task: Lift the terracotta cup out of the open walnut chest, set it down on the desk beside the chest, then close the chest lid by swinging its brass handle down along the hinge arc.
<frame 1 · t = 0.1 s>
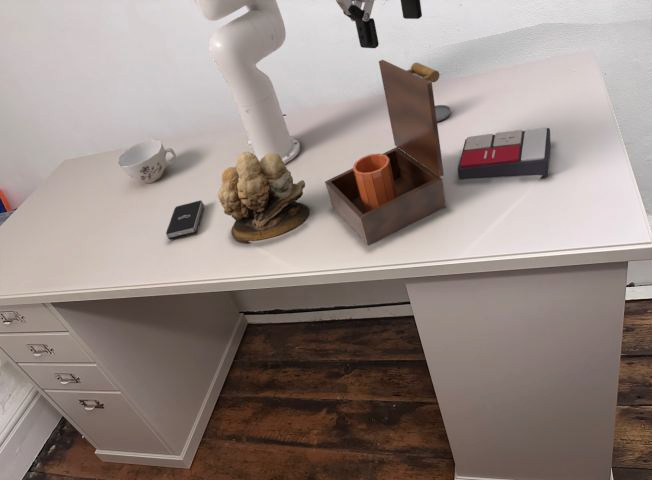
hand: (391, 32, 78), 31 cm above the table, tool pointing down, fingers open, 9 cm apart
lid: (421, 112, 90), point 16 cm above the table, hinge at 90.0°
chest: (386, 210, 99), on the table
teacup: (157, 177, 142), on the table
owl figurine: (273, 224, 108), on the table
external hard drive: (188, 224, 119), on the table
pocket watch: (431, 119, 119), on the table
calculator: (504, 164, 99), on the table
cup: (381, 209, 99), point 1 cm above the table, touching chest
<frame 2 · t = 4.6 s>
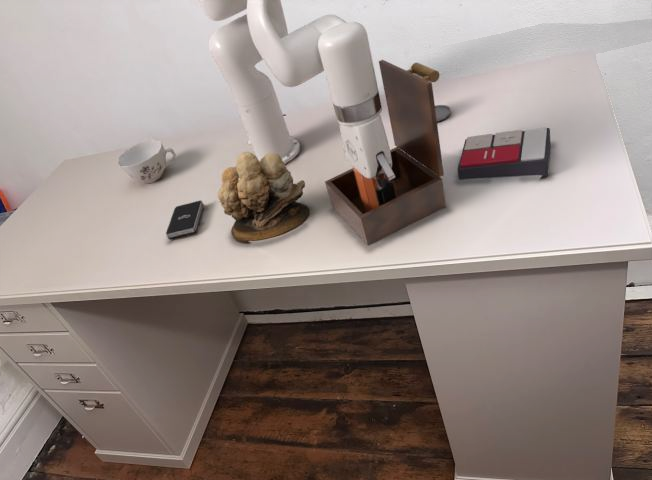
hand: (378, 195, 97), 4 cm above the table, tool pointing down, fingers closed on cup, 6 cm apart
cup: (381, 209, 99), point 1 cm above the table, touching chest, gripper
everything else where it was.
when the fingers open (3 cm above the table, at t = 12.0 s): cup stays where it is, on the table.
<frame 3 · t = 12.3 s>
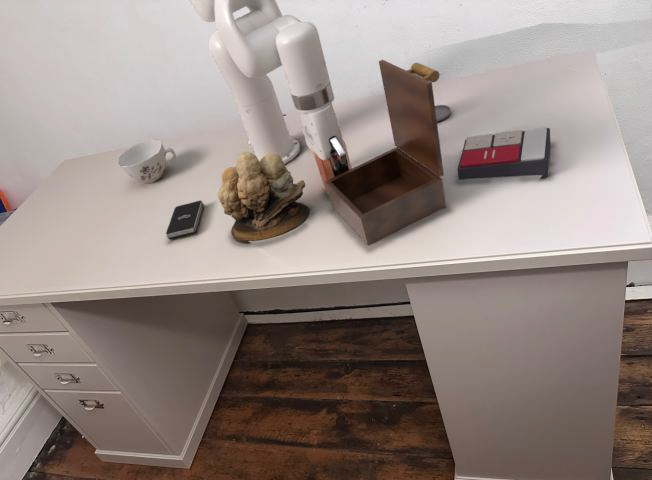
hand: (334, 173, 108), 3 cm above the table, tool pointing down, fingers open, 9 cm apart
cup: (340, 188, 110), on the table
everything else where it was.
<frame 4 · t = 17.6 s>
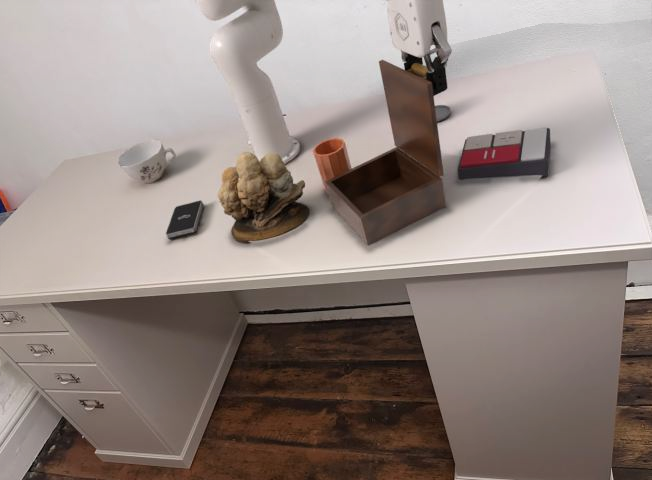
hand: (426, 86, 88), 20 cm above the table, tool pointing down, fingers closed on lid, 6 cm apart
lid: (421, 112, 90), point 16 cm above the table, hinge at 90.0°, touching gripper
everything else where it was.
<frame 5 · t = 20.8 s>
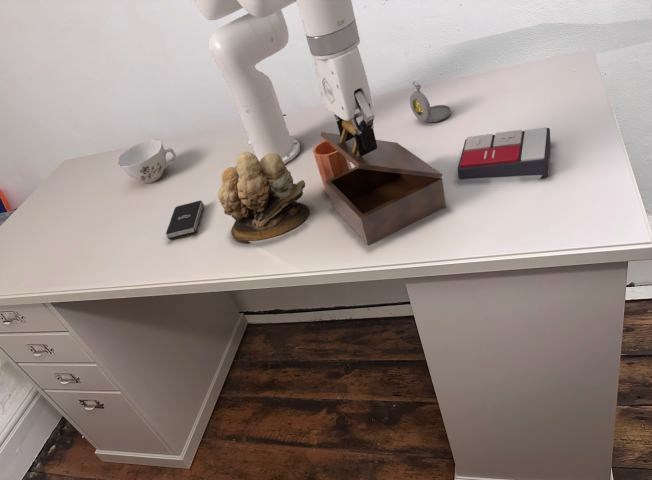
hand: (358, 144, 89), 15 cm above the table, tool pointing down, fingers closed on lid, 6 cm apart
lid: (383, 142, 91), point 14 cm above the table, hinge at 32.8°, touching gripper
everything else where it was.
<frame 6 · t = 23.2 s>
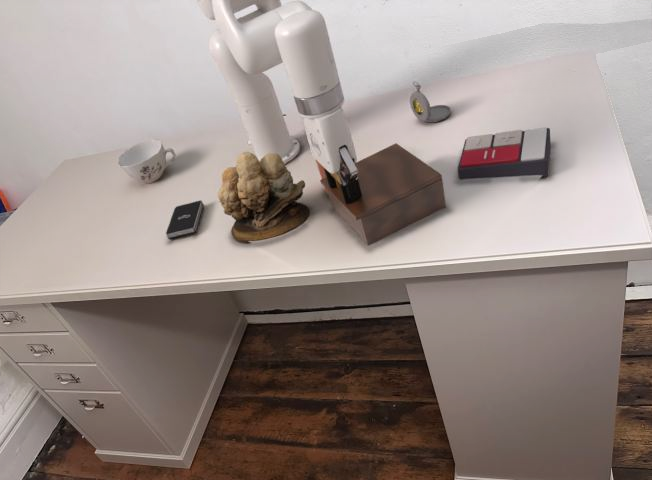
hand: (345, 191, 94), 8 cm above the table, tool pointing down, fingers closed on lid, 6 cm apart
lid: (375, 169, 93), point 9 cm above the table, hinge at -0.2°, touching gripper
everything else where it was.
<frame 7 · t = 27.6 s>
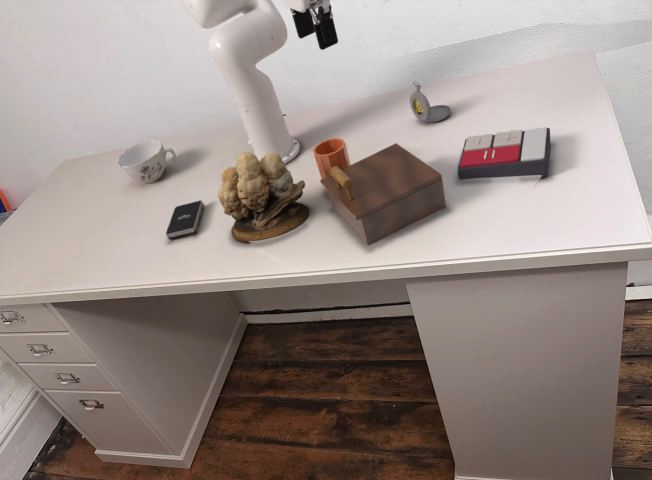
hand: (317, 40, 89), 30 cm above the table, tool pointing down, fingers open, 9 cm apart
lid: (375, 169, 93), point 9 cm above the table, hinge at -0.2°, touching chest
everything else where it was.
at the end: cup inside the target area (0.2 cm from its centre), on the table; cup tilted 0°; lid at +0° (first picture: +90°) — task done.
